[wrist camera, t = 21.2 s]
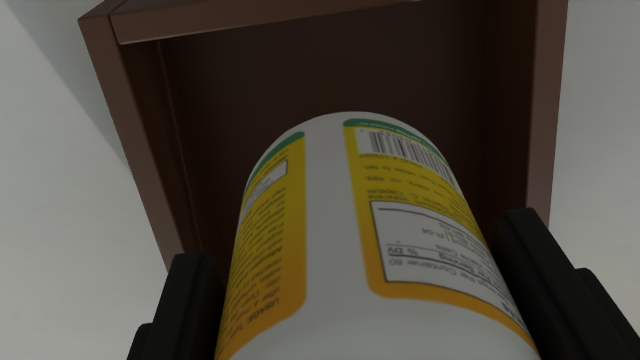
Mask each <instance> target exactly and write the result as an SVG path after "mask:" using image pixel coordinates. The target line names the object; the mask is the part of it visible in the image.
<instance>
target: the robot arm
mask: <svg viewBox="0 0 640 360" xmlns="http://www.w3.org/2000/svg"><path fill="white" fill-rule="evenodd" d="M491 254H492V256H493V258H494V260H495V262H496V264H497V266H498V268H499V271H500V273H501V275H502V277H503V279H504V281H505V283H506V285H507V287H508V289H509V291H510V293H511V295H512V298H513V300H514V302H515V304H516V306H517V308H518V310H519V312H520V314H521V317H522V319H523V321H524V323H525V325H526V327H527V329H528V331H529V333H530V335H531V337H532V339H533V341H534V343H535V345H536V347H537V350H538V352H539V355H540V357H541V359H542V360H640V337H639V336H638V335H637V333H636V332H635V330H634V329H633V328H632V326H631V325H630V323H629V322H628V321H627V319H626V318H625V316H624V315H623V314H622V312H621V311H620V309H619V308H618V307H617V305H616V304H615V302H614V301H613V300H612V298H611V297H610V296H609V294H608V293H607V291H606V290H605V289H604V287H603V286H602V284H601V283H600V282H599V280H598V279H597V277H596V276H595V275H594V274H593V273H592V271H591V270H589V269H587V268H579V269H575V268H574V267H573V265H572V264H571V262H570V261H569V259H568V258H567V256H566V255H565V253H564V252H563V251H562V249H561V248H560V246H559V245H558V243H557V242H556V240H555V239H554V237H553V236H552V234H551V233H550V231H549V230H548V228H547V227H546V225H545V224H544V223H543V221H542V220H541V218H540V217H539V215H538V214H537V212H536V211H535V210H534V209H533V208H532V207H528V208H521V209H513V210H505V211H503V212H502V213H501V218H500V219H494V220H493V221H492V238H491ZM225 295H226V291H225V287H224V284H223V281H222V277H221V274H220V270H219V267H218V264H217V261H216V258H215V257H214V256H212V257H207V256H206V254H205V252H204V251H196V252H188V253H180V254H176V255H175V256H174V258H173V260H172V263H171V266H170V270H169V273H168V276H167V279H166V282H165V285H164V288H163V291H162V294H161V298H160V301H159V304H158V307H157V310H156V313H155V316H154V319H153V323H146V324H142V325H141V326H140V327H139V328H138V330H137V332H136V334H135V337H134V340H133V343H132V345H131V348H130V351H129V354H128V357H127V360H214V354H215V349H216V343H217V338H218V332H219V327H220V322H221V316H222V311H223V306H224V300H225Z"/></svg>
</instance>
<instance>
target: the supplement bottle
mask: <svg viewBox="0 0 640 360" xmlns="http://www.w3.org/2000/svg"><path fill="white" fill-rule="evenodd" d="M214 360H542V359H541V357H540V355H539V352H538V350H537V347H536V345H535V343H534V341H533V339H532V337H531V335H530V333H529V331H528V329H527V327H526V325H525V323H524V321H523V319H522V317H521V314H520V312H519V310H518V308H517V306H516V304H515V302H514V300H513V298H512V295H511V293H510V291H509V289H508V287H507V285H506V283H505V281H504V279H503V277H502V275H501V273H500V271H499V268H498V266H497V264H496V262H495V260H494V258H493V256H492V254H491V252H490V250H489V248H488V246H487V244H486V241H485V239H484V237H483V235H482V233H481V231H480V229H479V227H478V225H477V223H476V221H475V218H474V216H473V214H472V212H471V210H470V208H469V206H468V204H467V202H466V200H465V198H464V196H463V194H462V191H461V189H460V187H459V185H458V183H457V181H456V179H455V177H454V175H453V173H452V171H451V169H450V167H449V165H448V164H447V162H446V160H445V158H444V157H443V156H442V154H441V153H440V151H439V150H438V149H437V148H436V146H435V145H434V144H433V143H432V142H431V141H430V140H429V139H428V138H426V137H425V136H424V135H423V134H421V133H420V132H419V131H417V130H416V129H414V128H412V127H411V126H409V125H407V124H405V123H403V122H401V121H399V120H396V119H394V118H391V117H388V116H385V115H381V114H376V113H371V112H338V113H332V114H327V115H322V116H319V117H316V118H313V119H311V120H308V121H306V122H303V123H301V124H299V125H298V126H296V127H294V128H292V129H290V130H288V131H287V132H285V133H284V134H283V135H281V136H280V137H279V138H278V139H277V140H276V141H275V142H274V143H273V144H272V145H271V146H270V147H269V148H268V149H267V150H266V152H265V153H264V154H263V156H262V157H261V158H260V160H259V161H258V162H257V164H256V165H255V167H254V169H253V171H252V173H251V174H250V177H249V179H248V182H247V185H246V188H245V191H244V195H243V200H242V205H241V211H240V217H239V223H238V228H237V233H236V239H235V244H234V251H233V256H232V262H231V267H230V273H229V278H228V283H227V289H226V295H225V300H224V306H223V311H222V316H221V322H220V327H219V332H218V338H217V343H216V349H215V354H214Z"/></svg>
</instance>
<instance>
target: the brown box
mask: <svg viewBox="0 0 640 360" xmlns="http://www.w3.org/2000/svg"><path fill="white" fill-rule="evenodd" d="M567 8H568V0H105V1H103V2H102V3H100V4H99V5H97V6H96V7H95V8H93V9H92V10H90V11H89V12H87V13H86V14H85V15H83V16H82V17H80V18H79V19H78V24H79V27H80V29H81V32H82V35H83V38H84V41H85V43H86V46H87V49H88V52H89V55H90V57H91V60H92V63H93V66H94V68H95V71H96V74H97V77H98V80H99V82H100V85H101V88H102V91H103V94H104V96H105V99H106V102H107V105H108V107H109V110H110V113H111V116H112V119H113V121H114V124H115V127H116V130H117V133H118V135H119V138H120V141H121V144H122V147H123V149H124V152H125V155H126V158H127V160H128V163H129V166H130V169H131V172H132V174H133V177H134V180H135V183H136V186H137V188H138V191H139V194H140V197H141V199H142V202H143V205H144V208H145V211H146V213H147V216H148V219H149V222H150V225H151V227H152V230H153V233H154V236H155V239H156V241H157V244H158V247H159V250H160V252H161V255H162V258H163V261H164V264H165V266H166V269H167V272H168V273H169V270H170V266H171V263H172V260H173V258H174V256H175V255H176V254H180V253H188V252H196V251H204V252H205V254H206V256H207V257H212V256H214V257H215V258H216V261H217V264H218V267H219V270H220V274H221V277H222V281H223V284H224V287H225V291H226V289H227V283H228V278H229V273H230V267H231V262H232V256H233V251H234V244H235V239H236V233H237V228H238V223H239V217H240V211H241V205H242V200H243V195H244V191H245V188H246V185H247V182H248V179H249V177H250V174H251V173H252V171H253V169H254V167H255V165H256V164H257V162H258V161H259V160H260V158H261V157H262V156H263V154H264V153H265V152H266V150H267V149H268V148H269V147H270V146H271V145H272V144H273V143H274V142H275V141H276V140H277V139H278V138H279V137H280V136H281V135H283V134H284V133H285V132H287V131H288V130H290V129H292V128H294V127H296V126H298V125H299V124H301V123H303V122H306V121H308V120H311V119H313V118H316V117H319V116H322V115H327V114H332V113H338V112H371V113H376V114H381V115H385V116H388V117H391V118H394V119H396V120H399V121H401V122H403V123H405V124H407V125H409V126H411V127H412V128H414V129H416V130H417V131H419V132H420V133H421V134H423V135H424V136H425V137H426V138H428V139H429V140H430V141H431V142H432V143H433V144H434V145H435V146H436V148H437V149H438V150H439V151H440V153H441V154H442V156H443V157H444V158H445V160H446V162H447V164H448V165H449V167H450V169H451V171H452V173H453V175H454V177H455V179H456V181H457V183H458V185H459V187H460V189H461V191H462V194H463V196H464V198H465V200H466V202H467V204H468V206H469V208H470V210H471V212H472V214H473V216H474V218H475V221H476V223H477V225H478V227H479V229H480V231H481V233H482V235H483V237H484V239H485V241H486V244H487V246H488V248H489V250H490V252H491V238H492V221H493V220H494V219H500V218H501V213H502V212H503V211H505V210H513V209H521V208H528V207H532V208H533V209H534V210H535V211H536V212H537V214H538V215H539V217H540V218H541V220H542V221H543V223H544V224H545V225H546V227H547V228H548V226H549V215H550V203H551V192H552V180H553V169H554V157H555V146H556V134H557V123H558V111H559V100H560V88H561V77H562V66H563V54H564V43H565V31H566V20H567Z"/></svg>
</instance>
